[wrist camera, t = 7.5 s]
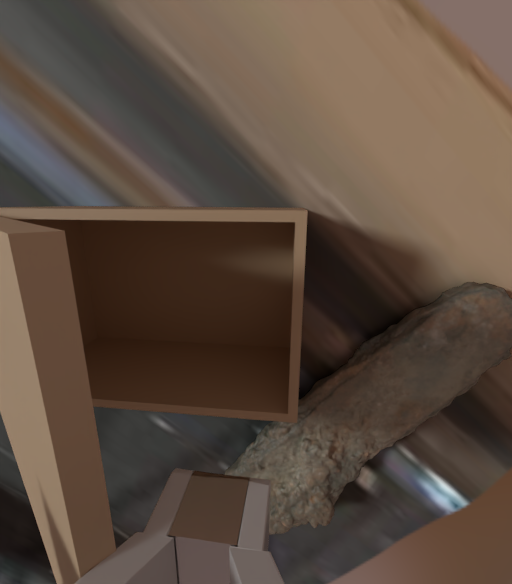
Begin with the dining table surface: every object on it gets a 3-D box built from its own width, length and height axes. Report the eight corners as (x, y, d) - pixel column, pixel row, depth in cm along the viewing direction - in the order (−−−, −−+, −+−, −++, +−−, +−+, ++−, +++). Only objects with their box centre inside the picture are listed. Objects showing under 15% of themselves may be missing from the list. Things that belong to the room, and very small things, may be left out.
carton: (296, 351, 29) (297, 423, 20) (96, 339, 31) (10, 399, 22) (302, 207, 26) (307, 210, 16) (76, 206, 28) (-37, 208, 18)
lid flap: (151, 765, 8) (127, 796, 7) (9, 402, 22) (-2, 405, 21) (64, 230, 4) (8, 233, 4) (-39, 207, 18) (-53, 208, 18)
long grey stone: (524, 325, 28) (446, 249, 27) (577, 347, 23) (481, 254, 22) (261, 534, 36) (196, 478, 35) (256, 586, 30) (180, 521, 30)
